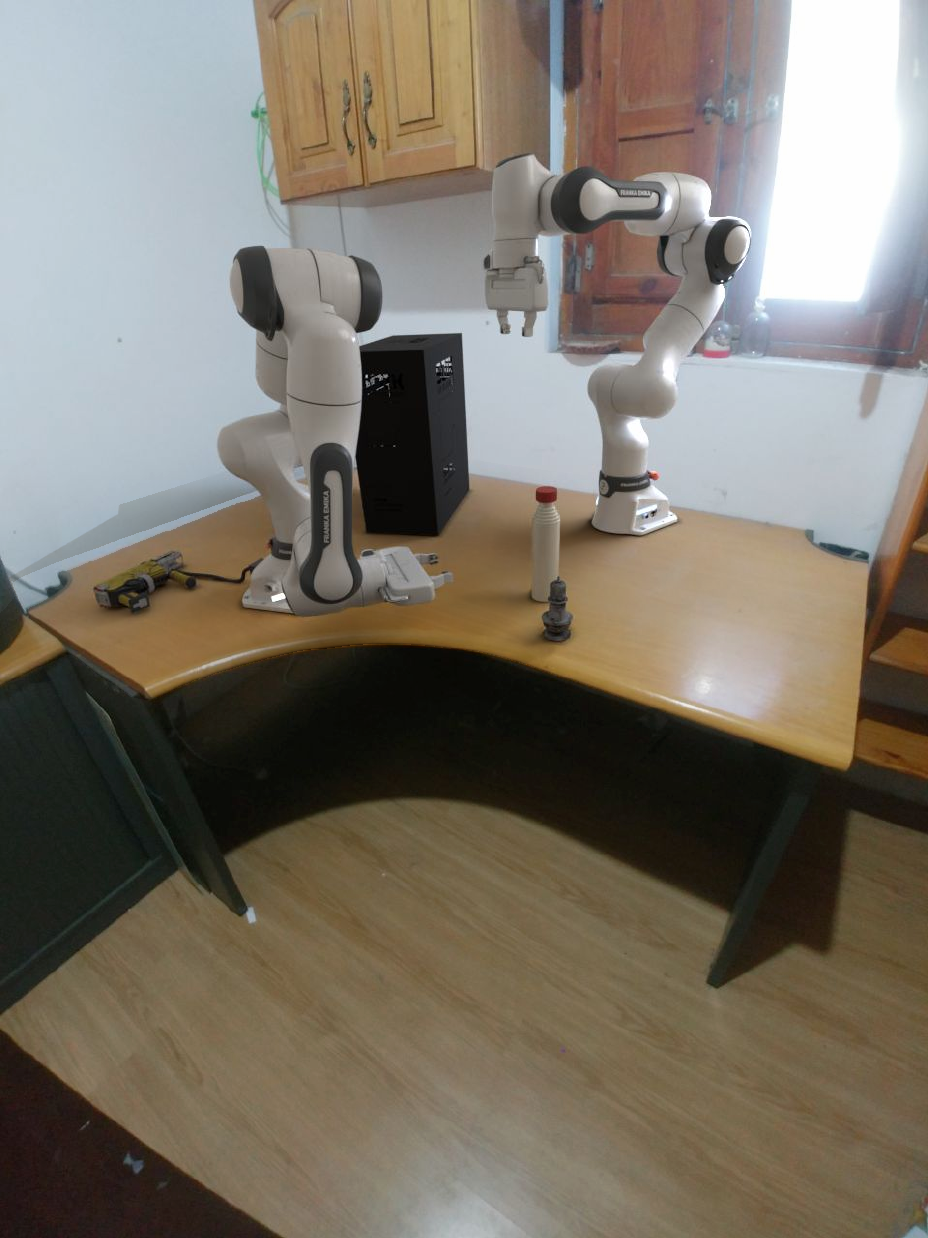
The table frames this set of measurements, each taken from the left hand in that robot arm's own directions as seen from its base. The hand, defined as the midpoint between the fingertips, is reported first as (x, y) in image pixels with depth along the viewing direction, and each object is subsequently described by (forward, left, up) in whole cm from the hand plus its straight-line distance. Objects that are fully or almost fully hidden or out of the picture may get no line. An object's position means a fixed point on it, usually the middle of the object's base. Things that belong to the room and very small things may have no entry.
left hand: (444, 566), depth 116 cm
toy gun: (-68, +11, -11) cm, 70 cm away
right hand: (+13, +34, +37) cm, 52 cm away
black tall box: (-16, +62, -11) cm, 65 cm away
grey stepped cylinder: (+21, -6, -11) cm, 25 cm away
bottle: (+19, +10, -11) cm, 24 cm away
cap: (+19, +10, +12) cm, 24 cm away
